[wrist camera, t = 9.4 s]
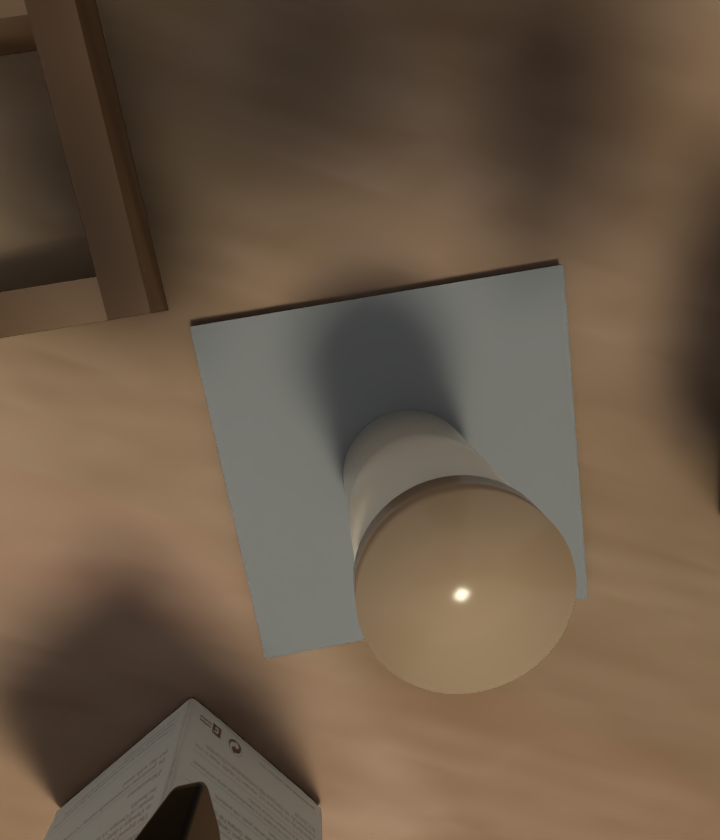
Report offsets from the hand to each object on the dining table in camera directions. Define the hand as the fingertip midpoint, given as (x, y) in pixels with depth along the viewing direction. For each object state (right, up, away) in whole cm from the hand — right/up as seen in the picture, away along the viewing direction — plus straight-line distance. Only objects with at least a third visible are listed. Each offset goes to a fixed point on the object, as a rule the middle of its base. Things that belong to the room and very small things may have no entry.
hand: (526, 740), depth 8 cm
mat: (-1, +3, +12) cm, 12 cm away
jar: (-1, +3, +12) cm, 12 cm away
